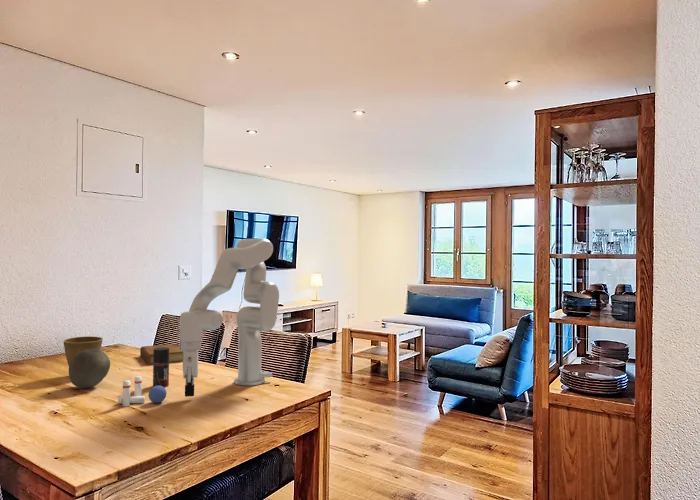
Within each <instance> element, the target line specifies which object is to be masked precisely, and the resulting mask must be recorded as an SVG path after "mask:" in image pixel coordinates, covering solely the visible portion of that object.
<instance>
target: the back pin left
mask: <svg viewBox="0 0 700 500" xmlns="http://www.w3.org/2000/svg"><path fill="white" fill-rule="evenodd" d="M130 396H131V380H129V379H128V380H122V397H123V403H122V407H124V408H125V407H126V408H127V407H129V406H131V403H130Z"/></svg>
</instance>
